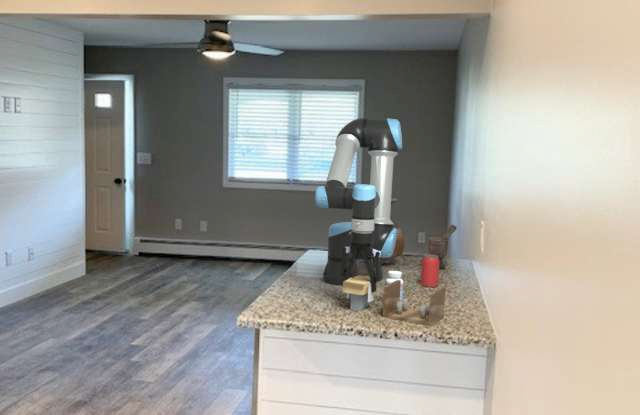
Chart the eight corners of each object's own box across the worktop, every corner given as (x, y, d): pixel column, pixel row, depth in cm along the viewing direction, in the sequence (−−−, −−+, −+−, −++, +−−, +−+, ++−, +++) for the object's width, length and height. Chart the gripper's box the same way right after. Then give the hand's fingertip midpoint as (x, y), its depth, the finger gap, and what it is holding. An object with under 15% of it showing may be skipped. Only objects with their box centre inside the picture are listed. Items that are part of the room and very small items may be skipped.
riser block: (350, 309, 199) (350, 291, 198) (360, 304, 205) (361, 287, 205) (358, 311, 197) (359, 293, 196) (368, 305, 204) (369, 288, 203)
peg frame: (382, 317, 191) (384, 286, 190) (396, 309, 201) (397, 279, 200) (432, 326, 183) (433, 294, 182) (443, 317, 193) (445, 287, 192)
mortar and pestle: (451, 266, 274) (454, 222, 272) (455, 270, 266) (457, 225, 264) (426, 265, 275) (428, 221, 273) (428, 269, 267) (431, 224, 264)
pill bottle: (397, 307, 203) (399, 275, 201) (381, 304, 206) (382, 272, 205) (405, 303, 208) (406, 271, 207) (389, 300, 211) (390, 269, 210)
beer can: (437, 288, 232) (439, 257, 230) (420, 287, 233) (422, 256, 232) (438, 284, 238) (439, 254, 237) (421, 283, 239) (422, 253, 238)
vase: (367, 257, 288) (370, 195, 284) (407, 261, 281) (410, 198, 278) (353, 266, 266) (356, 199, 263) (396, 271, 260) (400, 202, 257)
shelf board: (362, 295, 194) (362, 284, 193) (342, 292, 197) (343, 281, 197) (377, 288, 204) (377, 277, 204) (358, 285, 208) (359, 275, 207)
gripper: (330, 229, 200) (328, 297, 203) (386, 235, 190) (382, 306, 193) (341, 227, 206) (338, 292, 209) (395, 233, 197) (392, 301, 199)
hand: (359, 299), depth 201 cm, fingers closed on shelf board, 7 cm apart
